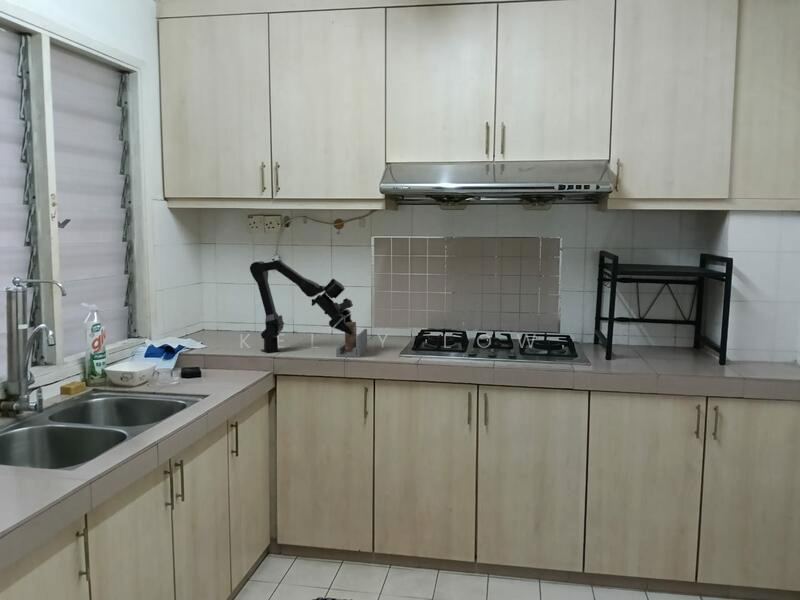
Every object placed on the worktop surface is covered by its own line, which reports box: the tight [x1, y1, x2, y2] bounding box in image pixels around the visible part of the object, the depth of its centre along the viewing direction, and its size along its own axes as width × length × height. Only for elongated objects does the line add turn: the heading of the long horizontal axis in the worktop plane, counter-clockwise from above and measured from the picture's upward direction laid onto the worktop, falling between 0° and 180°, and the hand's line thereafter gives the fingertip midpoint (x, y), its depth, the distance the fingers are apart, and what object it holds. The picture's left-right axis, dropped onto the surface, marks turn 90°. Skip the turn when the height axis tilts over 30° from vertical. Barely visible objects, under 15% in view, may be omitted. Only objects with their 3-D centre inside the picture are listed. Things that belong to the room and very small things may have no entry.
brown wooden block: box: [344, 321, 357, 352], centre depth 274 cm, size 4×6×12 cm
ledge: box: [335, 328, 368, 358], centre depth 274 cm, size 10×18×9 cm, turn 173°
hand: (353, 332), depth 274 cm, fingers open, 9 cm apart
